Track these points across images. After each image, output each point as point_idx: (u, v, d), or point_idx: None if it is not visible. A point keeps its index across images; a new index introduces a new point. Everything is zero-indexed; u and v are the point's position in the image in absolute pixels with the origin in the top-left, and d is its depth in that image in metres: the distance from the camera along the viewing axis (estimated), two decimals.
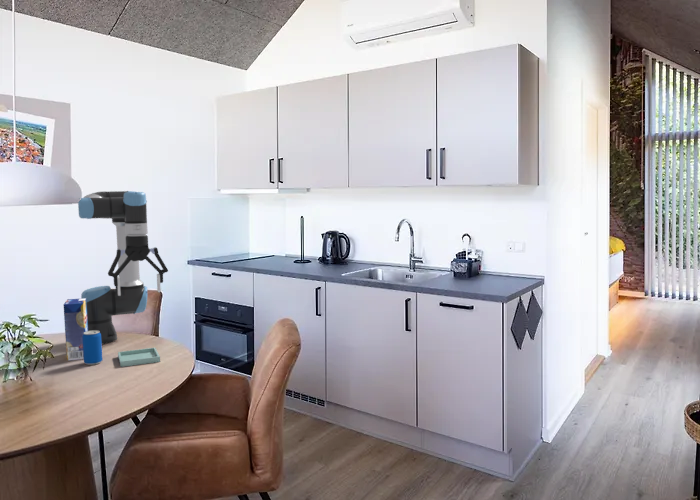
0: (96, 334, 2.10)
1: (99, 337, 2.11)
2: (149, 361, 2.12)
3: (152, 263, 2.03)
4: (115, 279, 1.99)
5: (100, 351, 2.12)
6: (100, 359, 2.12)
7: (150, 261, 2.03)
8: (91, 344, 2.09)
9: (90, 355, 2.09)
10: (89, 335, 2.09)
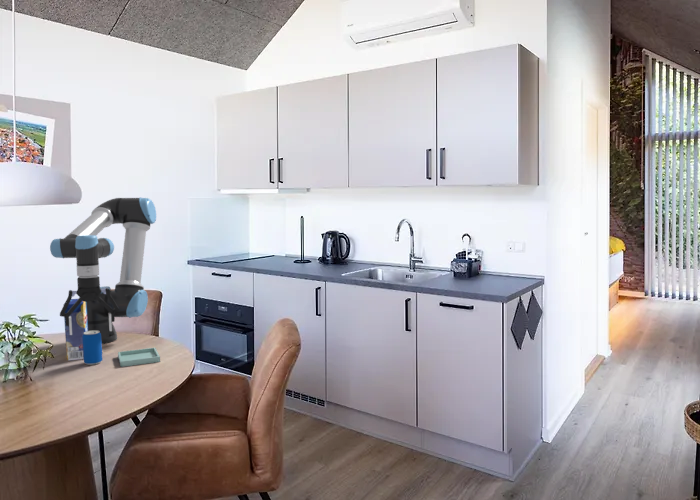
0: (96, 334, 2.10)
1: (99, 337, 2.11)
2: (149, 361, 2.12)
3: (103, 303, 2.11)
4: (67, 319, 2.06)
5: (100, 351, 2.12)
6: (100, 359, 2.12)
7: (101, 301, 2.11)
8: (91, 344, 2.09)
9: (90, 355, 2.09)
10: (89, 335, 2.09)
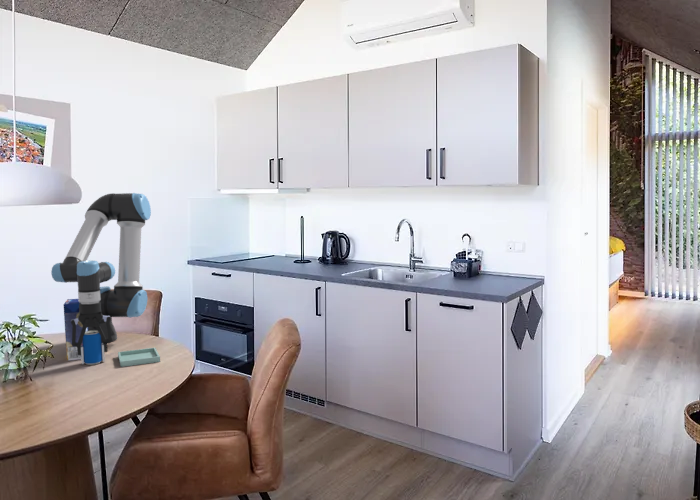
0: (96, 334, 2.10)
1: (99, 337, 2.11)
2: (149, 361, 2.12)
3: (100, 331, 2.12)
4: (79, 349, 2.09)
5: (100, 351, 2.12)
6: (100, 359, 2.12)
7: (99, 329, 2.11)
8: (91, 344, 2.09)
9: (90, 355, 2.09)
10: (89, 335, 2.09)
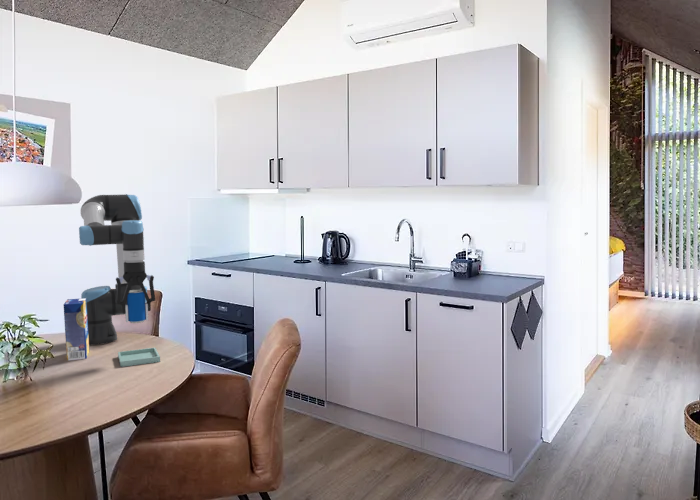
0: (140, 293, 2.13)
1: (143, 296, 2.14)
2: (149, 361, 2.12)
3: (144, 290, 2.14)
4: (123, 307, 2.12)
5: (144, 310, 2.14)
6: (144, 318, 2.14)
7: (143, 288, 2.14)
8: (135, 302, 2.11)
9: (134, 313, 2.12)
10: (134, 293, 2.11)
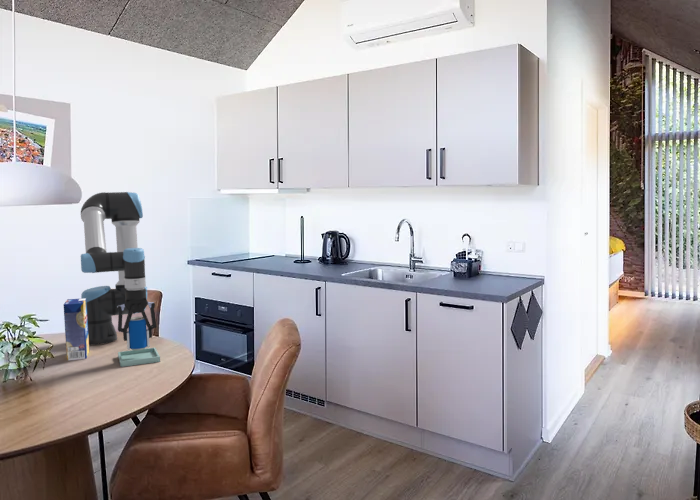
0: (142, 320, 2.14)
1: (144, 323, 2.15)
2: (149, 361, 2.12)
3: (145, 317, 2.15)
4: (125, 334, 2.13)
5: (145, 337, 2.15)
6: (145, 345, 2.15)
7: (144, 315, 2.15)
8: (137, 329, 2.12)
9: (135, 341, 2.13)
10: (135, 321, 2.12)
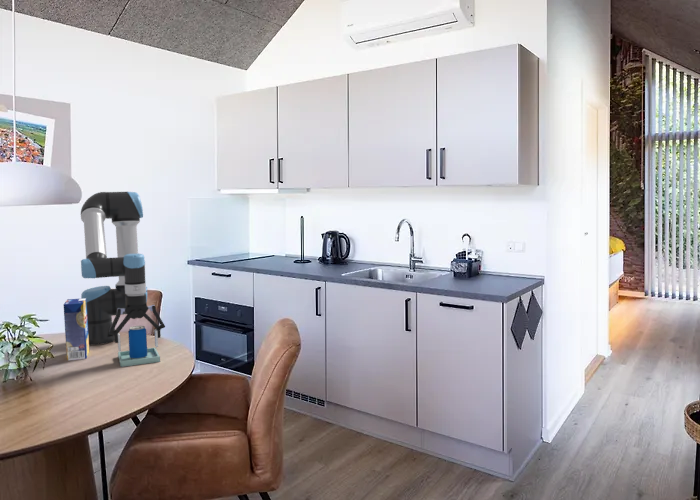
0: (142, 329, 2.14)
1: (145, 332, 2.15)
2: (149, 361, 2.12)
3: (150, 320, 2.16)
4: (116, 336, 2.12)
5: (145, 346, 2.16)
6: (145, 354, 2.16)
7: (148, 318, 2.16)
8: (137, 339, 2.13)
9: (136, 350, 2.13)
10: (135, 330, 2.13)
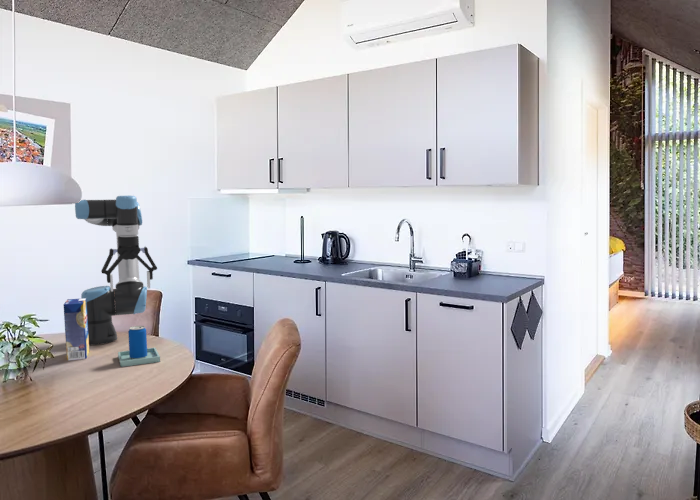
0: (142, 329, 2.14)
1: (145, 332, 2.15)
2: (149, 361, 2.12)
3: (142, 261, 2.20)
4: (108, 276, 2.15)
5: (145, 346, 2.16)
6: (145, 354, 2.16)
7: (140, 260, 2.19)
8: (137, 339, 2.13)
9: (136, 350, 2.13)
10: (135, 330, 2.13)
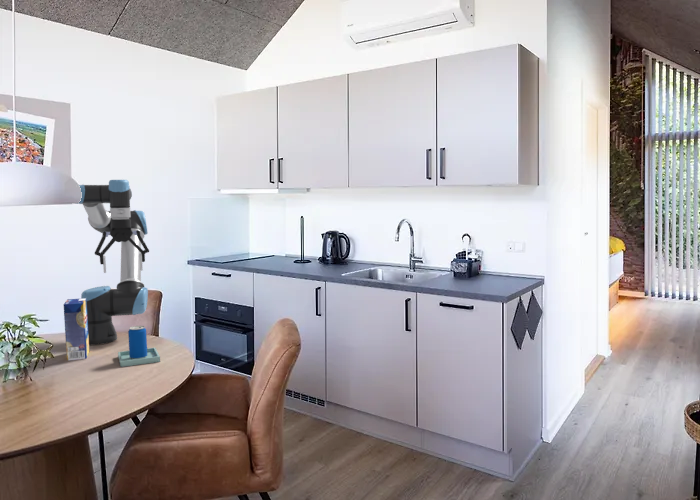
0: (142, 329, 2.14)
1: (144, 332, 2.15)
2: (149, 361, 2.12)
3: (135, 244, 2.25)
4: (101, 258, 2.21)
5: (145, 346, 2.16)
6: (145, 354, 2.16)
7: (133, 242, 2.25)
8: (137, 339, 2.13)
9: (136, 350, 2.13)
10: (135, 330, 2.13)
